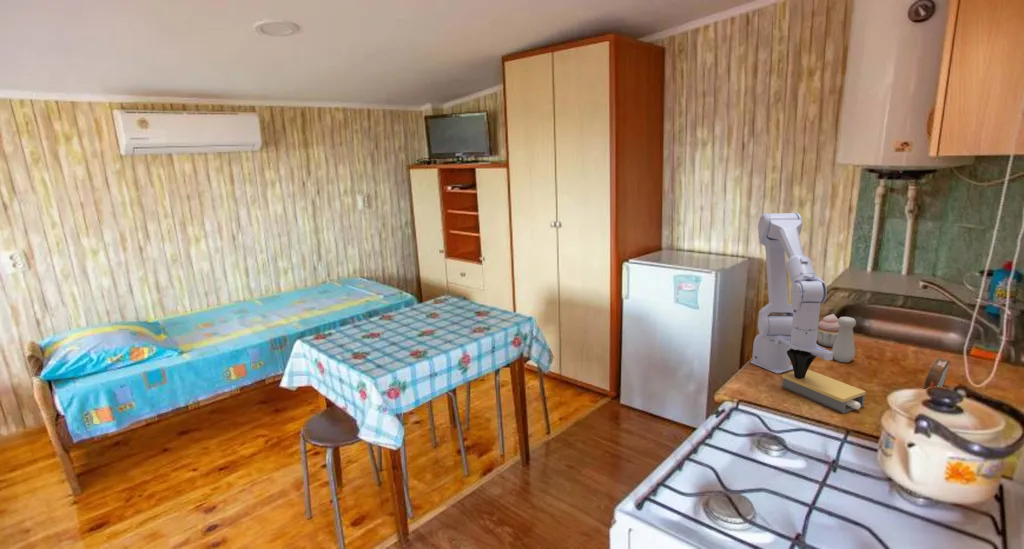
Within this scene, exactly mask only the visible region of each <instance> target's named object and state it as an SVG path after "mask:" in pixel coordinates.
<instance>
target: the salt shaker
mask: <svg viewBox="0 0 1024 549" xmlns="http://www.w3.org/2000/svg"><path fill="white" fill-rule="evenodd" d="M838 319H839V320H838V324H839V325H840V328H839V331H838V334H837V337H836V340H835V343H834V345H833V347H831V351H832V352H833V360H834V361H836V362H839V363H846V364H847V363H848V364H849V363H851V361H852V360H853V359H854V357H855V356H856V347H855V338H854V328H855V326H856V325H857V320H856V319H855V318H854V317H850V316H840V317H839V318H838Z"/></svg>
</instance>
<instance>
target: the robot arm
mask: <svg viewBox="0 0 1024 549" xmlns="http://www.w3.org/2000/svg"><path fill="white" fill-rule="evenodd" d="M757 228H758V239H759V244H761V245H762V246H764V249H765V250H764V251H765V259H766V260H765V262H766V264H765V265H766V277H767V279H766V280H767V295H768V296H767V298H768V303H767V304H766V305H764V306H763V307H761V309H760V310H759V311H758V320H757V329H758V330H757V331H758V333H757V335H756V336H755V338H754V340H753V343H752V344H753V345H752V355H751V356H752V357H751V358H752V359H753V358H754V357H755V358H754V359H753V360H752V359H751V360H750V361H751V362H750V361H749V363H751V364H753V365H755V366H758V367H760V368H763V369H765V370H767V371H769V372H772V373H775V374H776V375H777V374H778V375H779V374H782V373H783V374H784V373H785V372H786V373H787V372H788V371H789V372H791V371H794V376H795V378H798V379H802V378H805V375H806V372H807V370H809V368H810V366H811V364H812V363H813V362H814V360H815V359H816V358H817V357H818V358H820V359H823V360H824V361H826V362H828V361H832V360H834V356H833V352H832V350H829V349H827V348H825V347H824V346H822V345H821V346H820V344H818V343H817V342H818V340H817V332H818V323H819V322H820V312H821V311H820V310H821V304H823V303H825V301H826V299H827V293H828V290H827V285H826V283H825V281H824V279H821V277H819V276H817V275H816V271H815V269H814V266H813V263H812V260H811V259H810V257H808V256H807V255H804V251H803V246H802V243H801V238H800V235H801V232H802V228H803V217H802V216H801V214H800V213H799V212H793V213H792V212H785V213H779V212H778V213H773V212H772V213H767V212H764V213H761V215H760V217H759V221H758V225H757ZM786 256H787V259H788V260H787V261H786ZM787 272H788V275H789V276H788V277H789V279H790V282H791V288H790V298H791V304H790V303H789V297H788V296H789V295H788V293H789V292H788V283H787V282H788V281H787ZM790 363H791V364H790Z"/></svg>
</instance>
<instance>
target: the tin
mask: <svg viewBox="0 0 1024 549" xmlns="http://www.w3.org/2000/svg"><path fill="white" fill-rule="evenodd" d="M950 365H951V361H950V360H949V359H945V358H942V357H939V356H937V357H936V359H934V361H933V362H932V364H930V367H929V370H928V372H927V375H926V376H925V381H924V384H923V389H926V388H928V387H934V386H936V387H943V388H944V384H945V382H946V380H947V372H948V369H949V367H950ZM923 389H922V390H923Z"/></svg>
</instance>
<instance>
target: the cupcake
mask: <svg viewBox="0 0 1024 549" xmlns="http://www.w3.org/2000/svg"><path fill="white" fill-rule="evenodd" d="M838 320H839V318H838V317H837V316H836V315H835V314H834V313H830V314H829V315H826V316H824V317H823V318H822V319H821V320H819V323H818V332H817V344H818V345H821V346H822V347H828V348H833V345H834V343H835V340H836V337H837V334H838V331H839V328H840V325H839V324H838Z"/></svg>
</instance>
